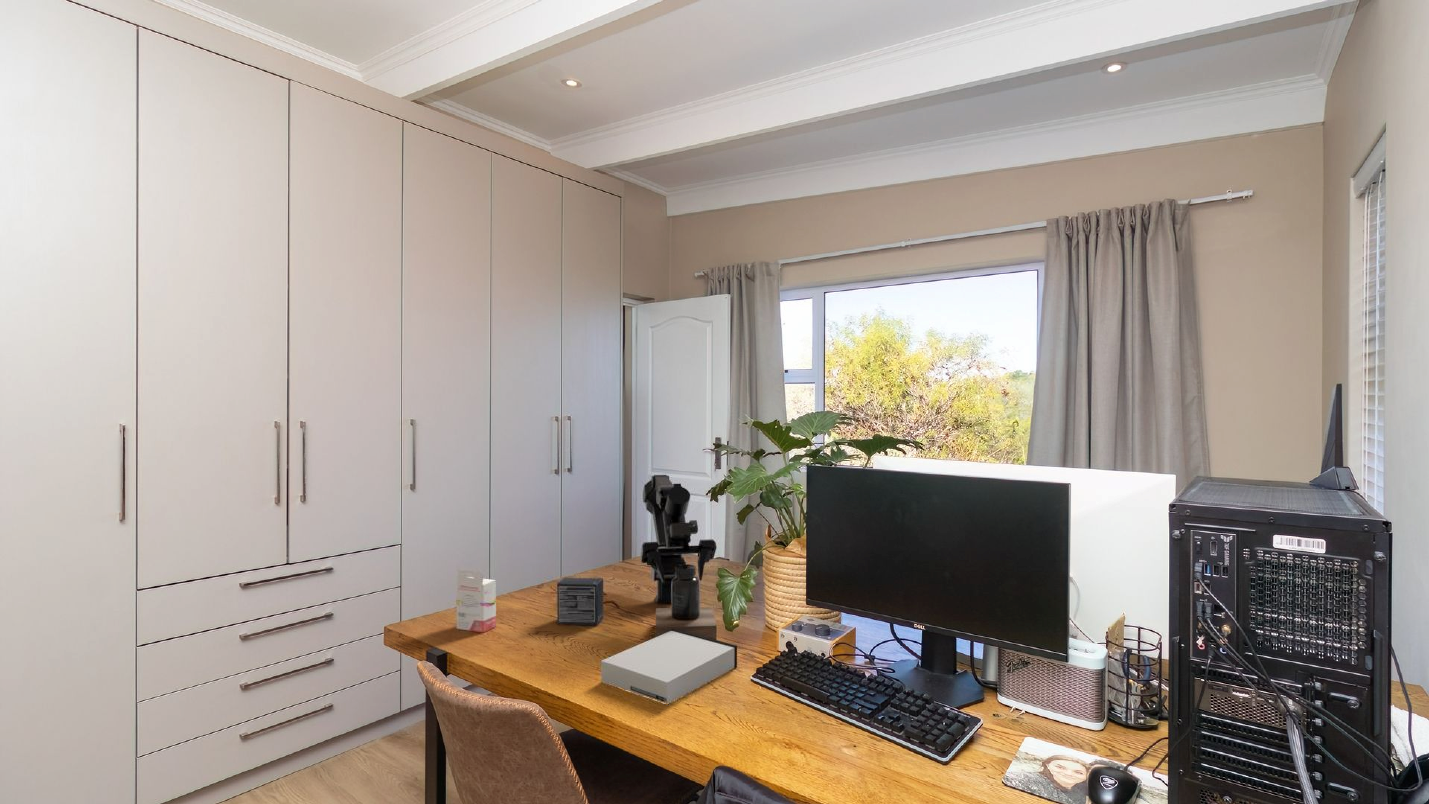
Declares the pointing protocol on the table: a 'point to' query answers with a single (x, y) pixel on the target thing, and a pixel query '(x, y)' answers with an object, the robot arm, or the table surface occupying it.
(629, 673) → the disc drive
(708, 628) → the walnut block
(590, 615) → the small box
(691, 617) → the supplement bottle
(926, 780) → the table surface
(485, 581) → the ink cartridge box
